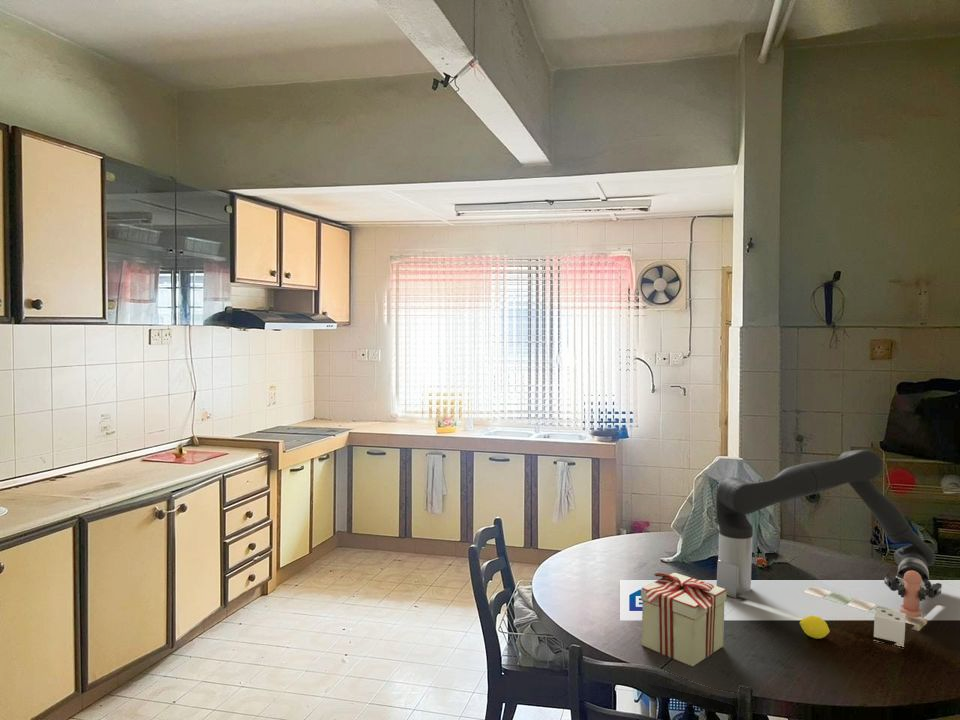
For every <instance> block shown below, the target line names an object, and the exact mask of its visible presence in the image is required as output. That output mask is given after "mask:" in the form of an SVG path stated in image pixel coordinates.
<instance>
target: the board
mask: <svg viewBox="0 0 960 720" xmlns="http://www.w3.org/2000/svg"><path fill="white" fill-rule="evenodd" d="M803 593H805V594H808V595H811V596H815V597H818V598H821V599H823V598H824V599H825V600H828V601H832V602H835V603H839V604H842V605H846V606H849V607H852V608H855V609H859V610H862V611H865V612H869V613H872V614H875V613H876V608H881V609H886V610H891V611H896V612H900V610H896V609H893V608H889V607H886V606H883V605H878V604H876V603H872V602H868V601H865V600H861V599H859V598H855V597H852V596H848V595H845V594H841V593H837V592H832V591H830V590H826V589H823V588H820V587H816V586H810V587H809V588H807V589H805V590H804V591H803ZM905 624H909V625H913V626H912V627H911V630H914V631H917V632H919V631H921V629H923V627H924V626H926V625H927V624H928V619H927V618H925V617H922V616H920V617H911V616H907V615H906V622H905Z"/></svg>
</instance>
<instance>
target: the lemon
mask: <svg viewBox="0 0 960 720" xmlns="http://www.w3.org/2000/svg"><path fill="white" fill-rule="evenodd" d="M799 626H800V627H801V629H802V631H803V632H804V633H805V634H806V635H807V636H808V637H811V638H812V639H816V640H817V639H823V638H825V637H826V636H827V635H828V634H829V633H830V632H831V631H830V628H829V626H828V624H827V622H826V621H825V620H824V619H823V618H821V617H820V616H816V615H808V616H805V617H804V618H803V619H802V620H800V621H799Z"/></svg>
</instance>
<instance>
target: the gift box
mask: <svg viewBox="0 0 960 720" xmlns="http://www.w3.org/2000/svg"><path fill="white" fill-rule="evenodd" d="M653 575H654V576H655V577H661V578H659V579H657V580H656V581H653V582H652V583H650V584H648V585H646V586H644V587H642V588H641V589H640V591H641V592H640V600H641V601H642V609H641V610H642V615H641V646H642V647H645V648H647V649H650V650H652V651H654V652H656V653H659V654H660V655H663V656H666V657H667V658H671V659H673V660H675V661H677V662H680V663H682V664H685V665H687V666H689V667H695V666H696V665H698V664H699V663H701V662H702V661H704V660H705V659H707V658H709V657H710V656H711V655H713V654H714V653H715V652H717V651H719V650H720V649H721V648H723V647H724V636H725V635H724V633H725V632H724V627H725V602H727V595H726V589H724V588H721V587H718V586H717V585H715V584H711V583H708V582H705V581H703V580H701V579H696V578H693V577H690V576H687V575H684V574H681V573H677V572H671V573H670V574H669V573H668V574H667V573H660V572H656V573H653Z"/></svg>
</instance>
